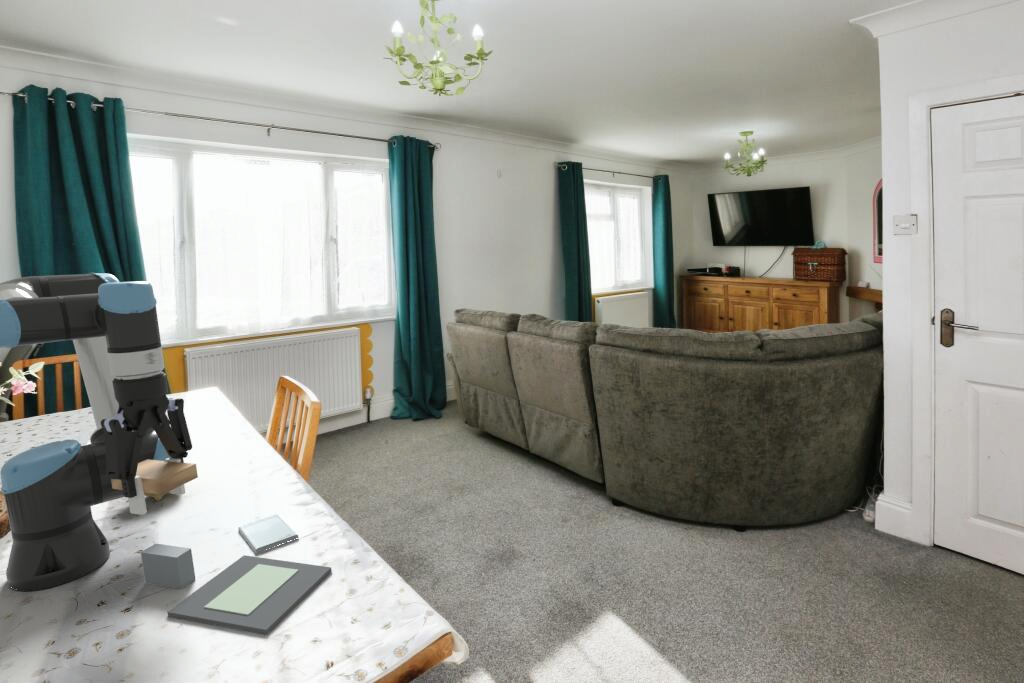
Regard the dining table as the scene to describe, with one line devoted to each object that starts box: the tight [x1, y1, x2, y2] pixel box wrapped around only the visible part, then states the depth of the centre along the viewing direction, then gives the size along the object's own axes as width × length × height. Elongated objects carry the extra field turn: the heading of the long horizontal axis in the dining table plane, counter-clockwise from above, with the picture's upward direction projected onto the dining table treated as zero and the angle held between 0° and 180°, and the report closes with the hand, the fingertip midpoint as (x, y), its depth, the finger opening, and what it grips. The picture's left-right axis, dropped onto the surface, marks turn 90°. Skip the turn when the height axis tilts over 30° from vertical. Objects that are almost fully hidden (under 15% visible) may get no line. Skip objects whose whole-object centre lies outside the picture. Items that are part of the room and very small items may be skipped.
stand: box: [140, 543, 196, 590], centre depth 99 cm, size 8×3×6 cm, turn 74°
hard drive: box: [238, 513, 299, 555], centre depth 115 cm, size 2×8×12 cm
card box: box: [111, 459, 199, 495], centre depth 96 cm, size 11×7×2 cm, turn 74°
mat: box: [167, 554, 332, 635], centre depth 95 cm, size 19×17×1 cm
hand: (158, 502), depth 97 cm, fingers closed on card box, 7 cm apart
